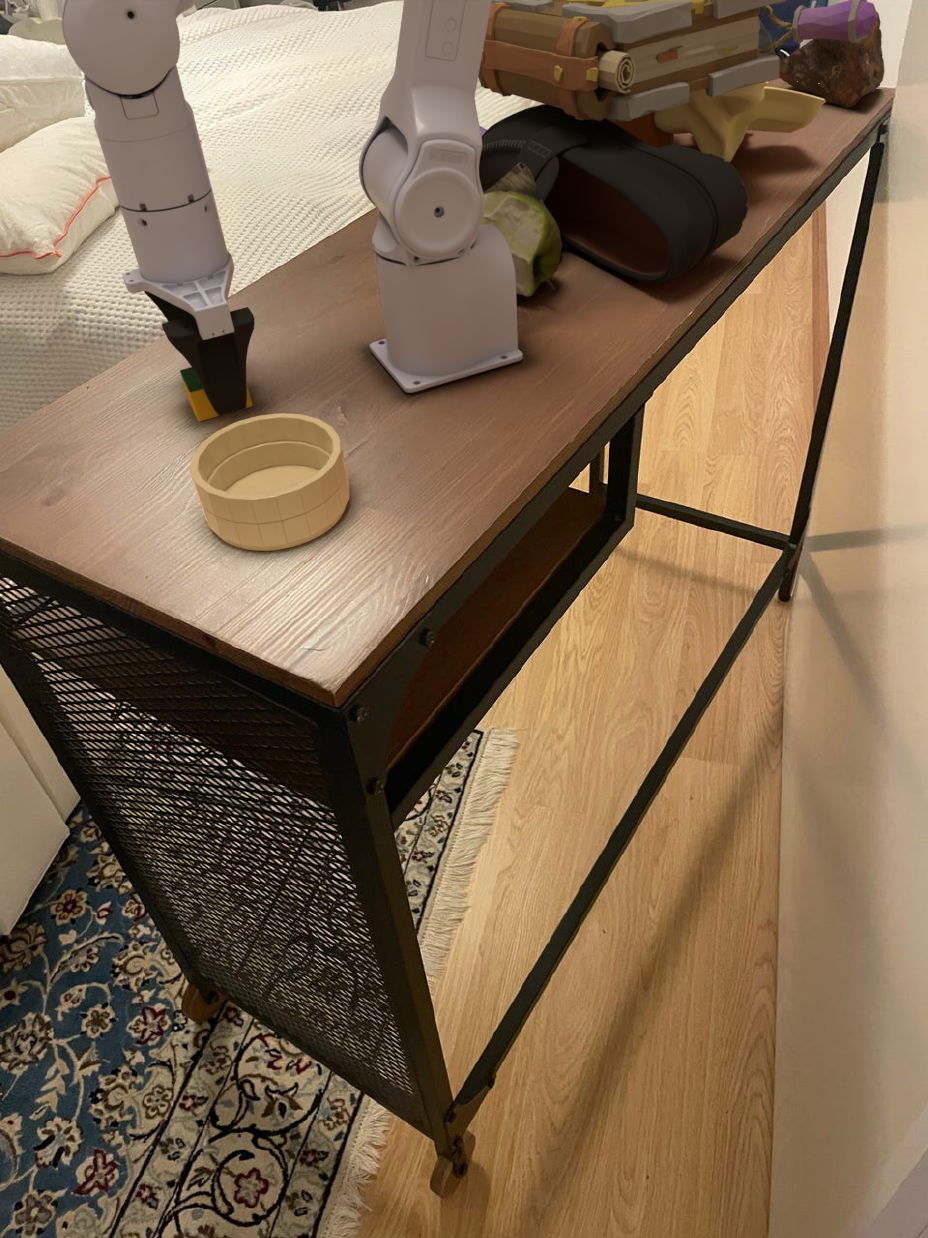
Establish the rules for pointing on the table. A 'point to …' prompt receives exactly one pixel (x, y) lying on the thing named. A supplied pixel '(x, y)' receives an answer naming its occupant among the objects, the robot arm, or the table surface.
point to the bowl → (271, 481)
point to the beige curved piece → (738, 116)
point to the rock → (837, 67)
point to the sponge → (200, 396)
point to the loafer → (620, 191)
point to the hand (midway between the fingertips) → (220, 389)
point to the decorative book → (643, 50)
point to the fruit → (524, 228)
